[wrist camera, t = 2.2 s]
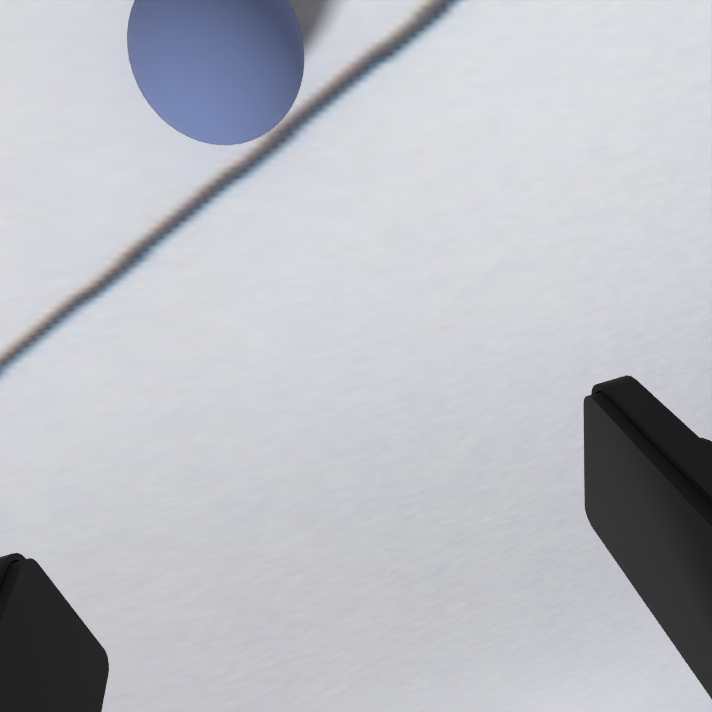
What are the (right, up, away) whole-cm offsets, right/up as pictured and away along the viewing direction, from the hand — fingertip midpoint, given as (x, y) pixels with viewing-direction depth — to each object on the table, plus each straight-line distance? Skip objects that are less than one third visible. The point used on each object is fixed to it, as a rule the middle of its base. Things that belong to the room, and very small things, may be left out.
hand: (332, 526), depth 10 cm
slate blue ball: (-4, +13, +9) cm, 16 cm away
